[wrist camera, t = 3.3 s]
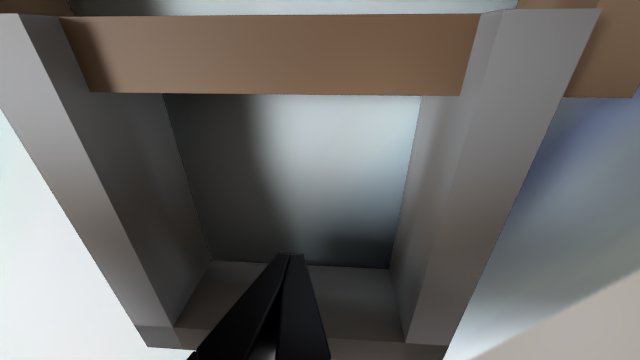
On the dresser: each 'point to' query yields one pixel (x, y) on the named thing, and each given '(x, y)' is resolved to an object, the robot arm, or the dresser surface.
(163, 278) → the sled frame
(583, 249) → the dresser surface
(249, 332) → the robot arm
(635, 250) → the dresser surface
